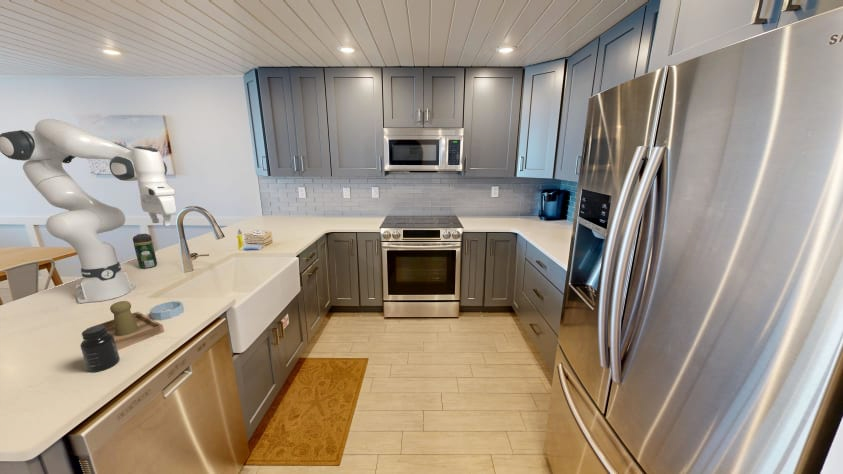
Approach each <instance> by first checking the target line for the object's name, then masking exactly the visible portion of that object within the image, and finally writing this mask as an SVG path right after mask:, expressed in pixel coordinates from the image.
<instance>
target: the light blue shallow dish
mask: <svg viewBox="0 0 843 474" xmlns="http://www.w3.org/2000/svg"><path fill="white" fill-rule="evenodd" d="M167 309H170V310H167ZM164 310H165V311H164ZM161 311H162V312H161ZM184 311H185V308H184V303H183V302H182V301H179V300H177V301H175V300H173V301H168V302H163V303H160V304H158V305H155V306H153V307H152V308H151V309H150V310H149V314H150V317H151V319H152V320H154V321H165V320H169V319H172V318H175V317H178V316H180V315H181V314H183V313H184ZM164 319H165V320H164Z"/></svg>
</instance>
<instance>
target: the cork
mask: <svg viewBox="0 0 843 474" xmlns="http://www.w3.org/2000/svg"><path fill="white" fill-rule="evenodd" d="M131 309H132V304H131V303H130V301H129V300H122V301H120V300H119V301H116V302H114V303H113V304H111V306H110V307H109V310H110V312H111V314H113V320H114V325H115V335H116V336H124V335H128V334H131V333H133V332H135V331H137V330H138V326H137V324H136V322H135V320H134V317H133V315H132V311H131Z"/></svg>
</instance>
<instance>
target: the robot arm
mask: <svg viewBox="0 0 843 474" xmlns="http://www.w3.org/2000/svg"><path fill="white" fill-rule="evenodd" d="M0 153H1V154H2V155H3V156H5V157H6V158H8V159H10V160H16V161H23V162H24V163H23V165H22V170H23V172H24V174H25V176H26V177H27V179H28V180H29V182H30V183H31V184H32V186H33V187H34V188H35V189H36V190H37V191H38V192H39V194H41V196H43V198H44V199H45V200H46V202H48V204H50V205H51V206H52V207H55V208H59V209H62V210H66V211H64V212H63V211H62V212H59V213H57V214H54V215H51V216H49V217H48V218H47V219H46V223H45V226H46V227H45V228H46V230H47V231H48V233H49V234H50V235H51V236H52V237H54V238H56V239H59V240H62V241H65V243H67V244H69V245H70V246H72V248H73V249H74V251H75V252H76V254H77V256H78V259H79V263H80V266H81V268H80V274H81V276H82V277H81V279H80V283H78V284H76V285H75V289H76V291H75V297H76V301H77V303H78V304H83V303H84V304H85V303H93V302H94V303H97V302H102V301H108V300H112V299H115V298H119V297H122V296H124V295H127V294H128V293H129V292H131V291H132V290H135V288H136V286H135V285H133V284H131V283H130V280H129V277H128V274H127V272H125V271H123V270H122V267H121V264H120V262H119V261H118V258H117V257H118V256H117V254H116V250H115V247H114V246H113V245H112V244H111V243H109V242H105V241H102V240H101V239H100V238H99V237H98V234H102V233H107V232H112V231H114V230H116V229H119V228H120V227H122V226H124V224H125V223H126V216H125V213H124V212H123V211H122V210H121V209H120V208H118V207H115V206H111V205H108V204H106V203H104V202H101V201H100V200H98V199H96V198H94V197H93V196H91V195H89V193H88V192H86V191H84V189H83V188H82V187H81V186H80V185H79V184H78V183H77V182H76V180H74V178H73V177H72V176H71V175H70V174H69V173H68V171H66V170H65V168H64V167H63V163H64V164H70V163H71V162H72V160H74V159H75V158H78V159H87V160H88V159H91V160H92V159H94V160H95V159H96V160H110V161H109V170H110V171H109V172H111V174H112V176H113V177H114V178H116V179H118V180H119V181H123V182H124V181H125V182H133V181H137V185H138V189H139V195H140V197H139V198H140V204H141V205H140V206H141V209H142V211H143V212H145V213H146V212H147V213H148V215H149V217H150V219H151V222H152V223H153V224H159V223H160V219H159V218H158V215H162V218H163V221H162V223H163V226H166V227H168V226H171V219H172V215H176V213H177V207H176V199H175V196H174V195H175V194H176V193H175V189H174V188H172V187H171V186H170V185H169V184H168V179H167V178H166V175H167V172H168V167H167V164H166V163H165V161H164V159H163V156H162V154H161V152H160V151H159V150H158V149H157V148H155V147H152V146H151V147H150V146H141V145H139V146H133V147H132V148H129V147H127V146H124V145H122V144H121V145H120V144H118V143H116V142H112V141H111V140H107V139H106V138H102V137H100V136H99V135H95V134H93V133H91V132H89V131H86V130H85V129H82V128H80V127H78V126H75V125H73V124H71V123H68V122H66V121H62V120H59V119H55V118H44V119H41V120H39V121H38V122H37V123H36V124H35V125H34V130H33V131H30V130H26V131H25V130H23V129H20V130H13V131H6V132H1V134H0Z"/></svg>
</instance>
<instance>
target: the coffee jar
mask: <svg viewBox="0 0 843 474" xmlns="http://www.w3.org/2000/svg"><path fill="white" fill-rule="evenodd" d="M132 242H133V248H134V250H135V251H134V252H135V255H136V259H137V262H138V268H140V269H142V270H143V269H151V268H153V267H157V266H158V259H157V257H156V251H155V247H154V243H153V239H152V235H151V234H148V233H139V234H136V235H134V236H133V237H132Z"/></svg>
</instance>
